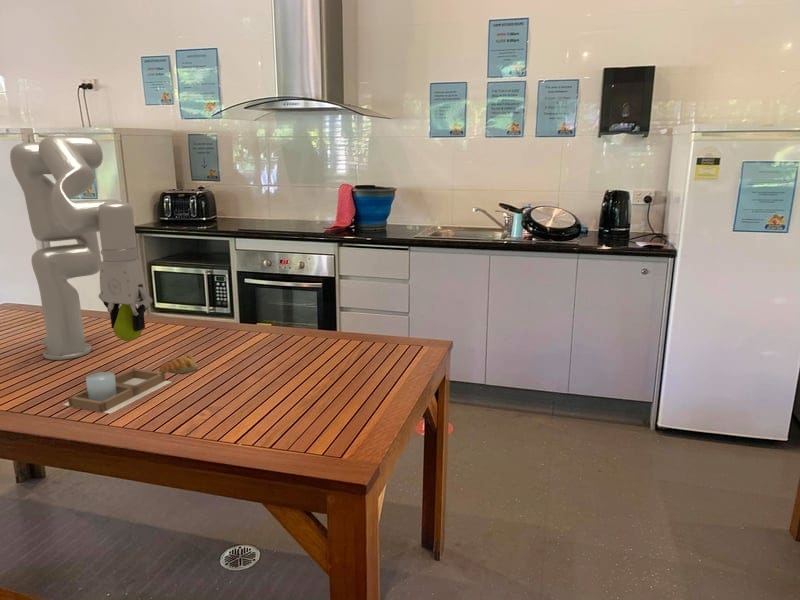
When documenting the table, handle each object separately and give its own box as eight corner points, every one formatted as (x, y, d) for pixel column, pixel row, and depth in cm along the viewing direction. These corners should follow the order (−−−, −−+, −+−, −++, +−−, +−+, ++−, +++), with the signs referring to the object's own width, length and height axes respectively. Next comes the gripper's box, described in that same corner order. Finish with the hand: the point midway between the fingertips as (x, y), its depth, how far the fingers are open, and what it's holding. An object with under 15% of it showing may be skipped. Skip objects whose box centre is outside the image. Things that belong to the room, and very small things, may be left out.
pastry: (165, 379, 156) (164, 365, 155) (155, 373, 160) (153, 359, 159) (199, 370, 162) (198, 357, 161) (188, 364, 167) (187, 351, 166)
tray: (63, 409, 137) (61, 396, 136) (128, 379, 155) (127, 367, 154) (110, 418, 132) (109, 405, 132) (172, 386, 151) (171, 374, 150)
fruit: (125, 345, 141) (119, 296, 138) (109, 341, 144) (104, 293, 141) (149, 338, 146) (144, 291, 143) (133, 334, 149) (128, 288, 146)
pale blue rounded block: (83, 403, 137) (79, 379, 136) (103, 394, 143) (100, 370, 141) (103, 407, 135) (100, 382, 134) (123, 397, 141) (120, 373, 139)
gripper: (79, 255, 139) (88, 329, 144) (137, 260, 134) (145, 336, 138) (104, 250, 146) (112, 321, 151) (161, 255, 141) (168, 327, 145)
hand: (128, 327), depth 144 cm, fingers closed on fruit, 5 cm apart
